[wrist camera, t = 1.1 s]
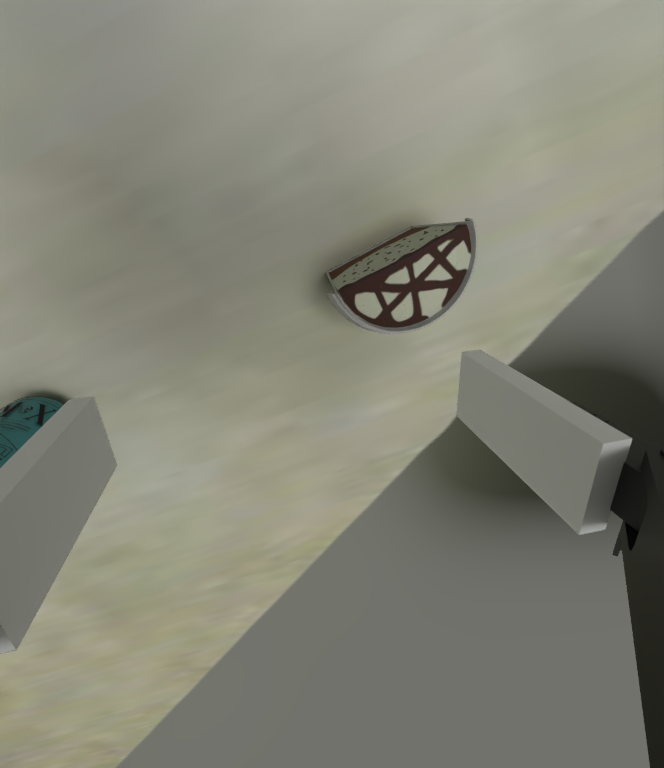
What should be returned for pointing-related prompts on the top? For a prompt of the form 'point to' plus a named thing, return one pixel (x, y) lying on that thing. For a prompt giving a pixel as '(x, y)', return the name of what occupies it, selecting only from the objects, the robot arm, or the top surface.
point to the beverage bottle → (23, 423)
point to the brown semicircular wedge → (406, 278)
